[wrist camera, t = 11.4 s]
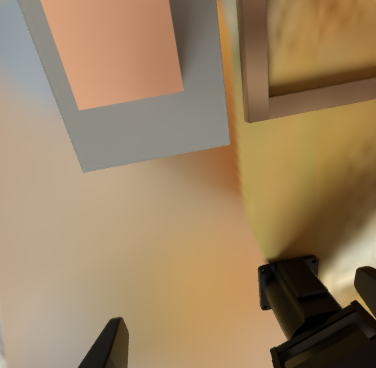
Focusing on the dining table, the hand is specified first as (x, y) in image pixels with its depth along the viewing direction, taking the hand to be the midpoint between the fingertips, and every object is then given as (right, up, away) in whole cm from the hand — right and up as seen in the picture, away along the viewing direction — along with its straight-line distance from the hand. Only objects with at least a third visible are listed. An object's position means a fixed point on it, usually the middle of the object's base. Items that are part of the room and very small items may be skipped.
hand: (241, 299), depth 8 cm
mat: (-6, +13, +7) cm, 16 cm away
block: (-6, +13, +7) cm, 15 cm away
